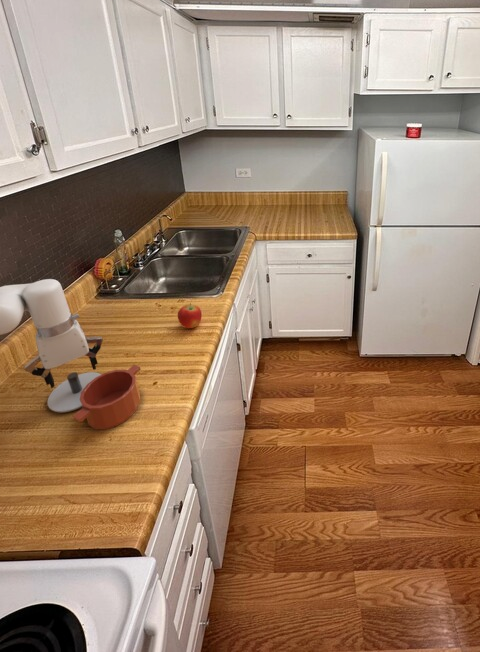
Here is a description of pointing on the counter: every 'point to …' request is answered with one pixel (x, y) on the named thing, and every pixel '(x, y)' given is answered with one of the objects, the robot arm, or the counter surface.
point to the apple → (189, 316)
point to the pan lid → (70, 392)
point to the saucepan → (110, 399)
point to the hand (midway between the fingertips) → (74, 375)
